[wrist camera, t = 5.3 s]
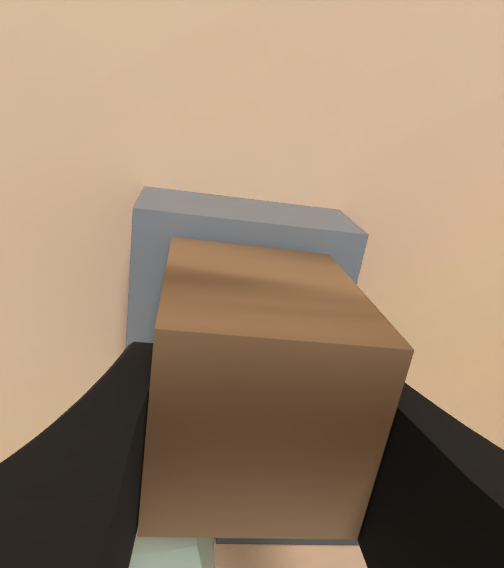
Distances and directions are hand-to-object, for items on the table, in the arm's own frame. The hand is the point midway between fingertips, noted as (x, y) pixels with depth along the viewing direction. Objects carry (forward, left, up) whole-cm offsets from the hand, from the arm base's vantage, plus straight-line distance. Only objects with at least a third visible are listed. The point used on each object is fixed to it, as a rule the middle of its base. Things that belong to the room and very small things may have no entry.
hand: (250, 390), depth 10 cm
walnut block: (+1, 0, -3) cm, 3 cm away
